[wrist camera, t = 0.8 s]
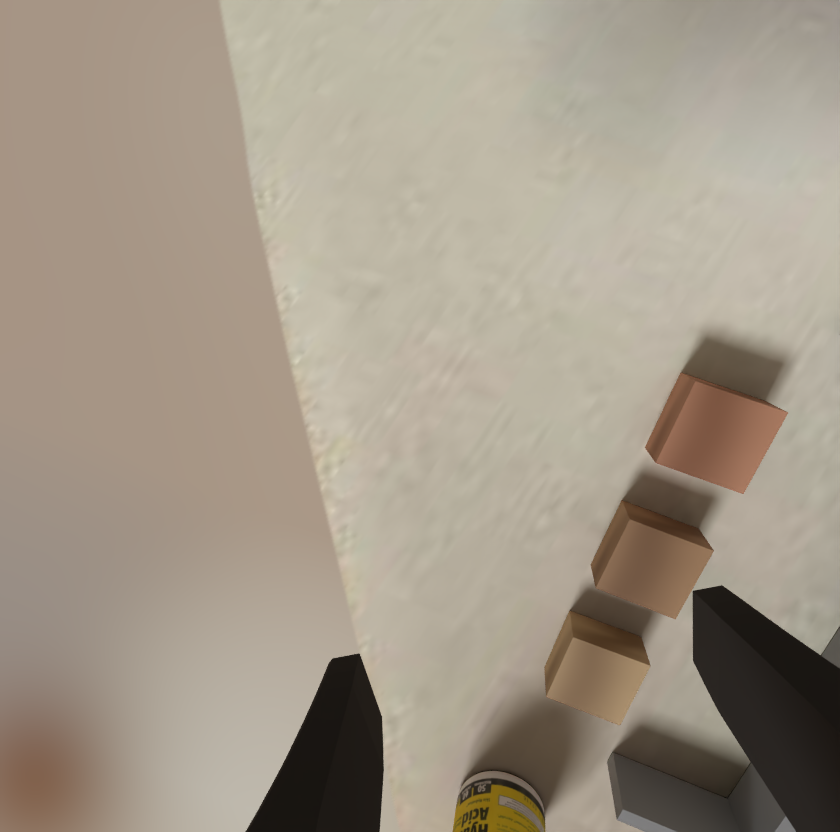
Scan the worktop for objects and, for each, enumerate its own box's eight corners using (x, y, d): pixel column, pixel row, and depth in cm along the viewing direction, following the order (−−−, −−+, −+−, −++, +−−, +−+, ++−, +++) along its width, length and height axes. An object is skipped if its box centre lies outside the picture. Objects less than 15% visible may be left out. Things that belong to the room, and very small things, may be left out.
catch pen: (1030, 372, 22) (1117, 388, 19) (735, 814, 30) (760, 880, 27) (849, 317, 23) (903, 323, 20) (607, 762, 31) (616, 819, 28)
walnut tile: (697, 526, 27) (713, 550, 25) (663, 590, 28) (675, 619, 26) (621, 498, 27) (629, 519, 25) (590, 562, 29) (595, 587, 26)
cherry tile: (763, 399, 25) (788, 412, 23) (723, 474, 26) (743, 494, 24) (679, 371, 25) (695, 381, 23) (644, 446, 27) (655, 462, 24)
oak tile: (640, 634, 29) (650, 665, 27) (612, 690, 30) (619, 725, 28) (569, 608, 30) (573, 637, 27) (544, 664, 31) (546, 696, 28)
